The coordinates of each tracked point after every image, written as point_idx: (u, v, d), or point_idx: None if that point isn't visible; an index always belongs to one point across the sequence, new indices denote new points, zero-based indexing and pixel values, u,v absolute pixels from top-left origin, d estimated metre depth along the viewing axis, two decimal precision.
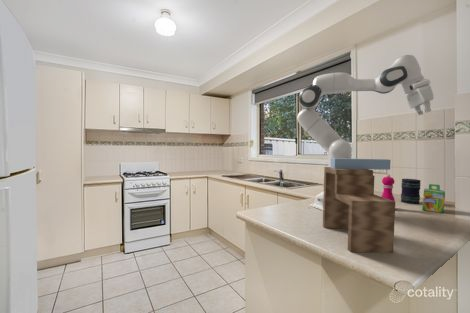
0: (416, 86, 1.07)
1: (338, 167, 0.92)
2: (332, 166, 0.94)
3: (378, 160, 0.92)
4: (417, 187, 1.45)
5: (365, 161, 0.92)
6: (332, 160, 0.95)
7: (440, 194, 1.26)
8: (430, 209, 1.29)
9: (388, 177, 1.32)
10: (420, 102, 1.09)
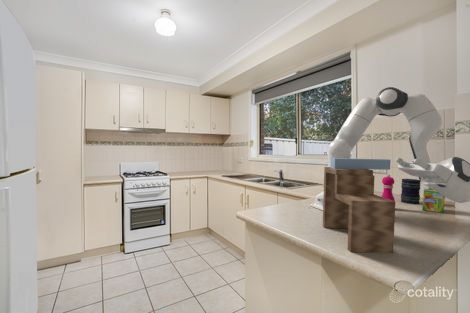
0: (454, 173, 0.85)
1: (338, 167, 0.92)
2: (332, 166, 0.94)
3: (378, 160, 0.92)
4: (417, 187, 1.45)
5: (365, 161, 0.92)
6: (332, 160, 0.95)
7: (440, 194, 1.26)
8: (430, 209, 1.29)
9: (388, 177, 1.32)
10: None
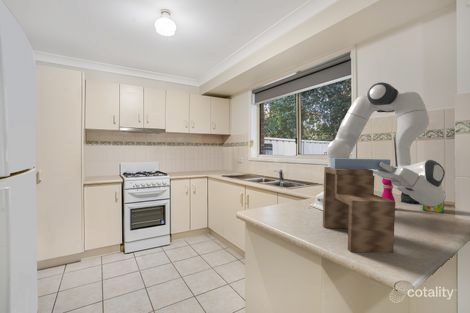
0: (421, 177, 0.86)
1: (338, 167, 0.92)
2: (332, 166, 0.94)
3: (378, 160, 0.92)
4: None
5: (365, 161, 0.92)
6: (332, 160, 0.95)
7: None
8: (430, 209, 1.29)
9: None
10: (397, 167, 0.89)
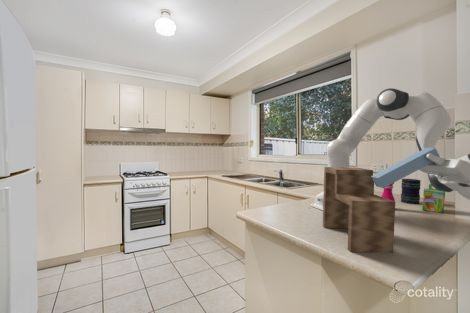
0: None
1: (386, 184, 0.80)
2: (378, 185, 0.82)
3: (423, 155, 0.79)
4: (417, 187, 1.45)
5: (411, 163, 0.80)
6: (374, 179, 0.82)
7: (440, 194, 1.26)
8: (430, 209, 1.29)
9: None
10: None
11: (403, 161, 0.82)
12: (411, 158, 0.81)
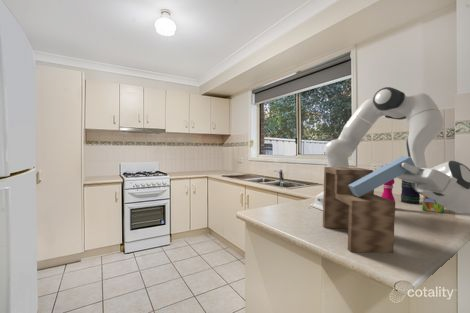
0: (453, 179, 0.73)
1: (362, 193, 0.80)
2: (354, 194, 0.82)
3: (398, 164, 0.80)
4: None
5: (386, 172, 0.80)
6: (351, 188, 0.82)
7: None
8: (430, 209, 1.29)
9: None
10: None
11: (379, 170, 0.82)
12: (387, 167, 0.81)
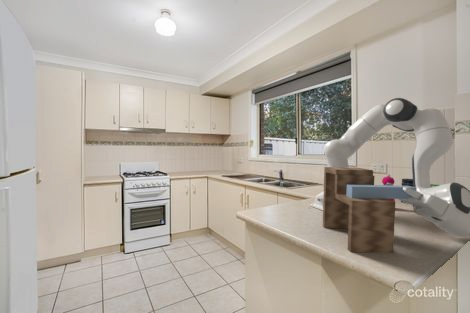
0: (451, 205, 0.73)
1: (356, 196, 0.80)
2: (348, 194, 0.82)
3: (402, 188, 0.80)
4: None
5: (387, 189, 0.80)
6: (348, 187, 0.82)
7: None
8: None
9: (388, 177, 1.32)
10: (422, 192, 0.77)
11: (382, 185, 0.82)
12: (390, 186, 0.81)
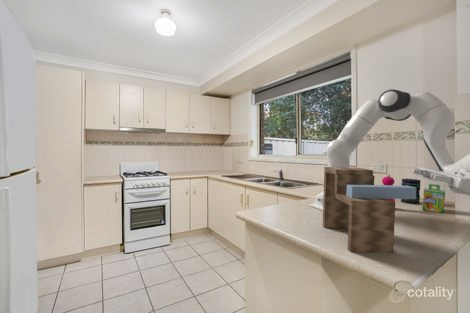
0: None
1: (356, 196, 0.80)
2: (348, 194, 0.82)
3: (402, 188, 0.80)
4: (417, 187, 1.45)
5: (387, 189, 0.80)
6: (348, 187, 0.82)
7: (440, 194, 1.26)
8: (430, 209, 1.29)
9: (388, 177, 1.32)
10: (452, 175, 0.77)
11: (382, 185, 0.82)
12: (390, 186, 0.81)
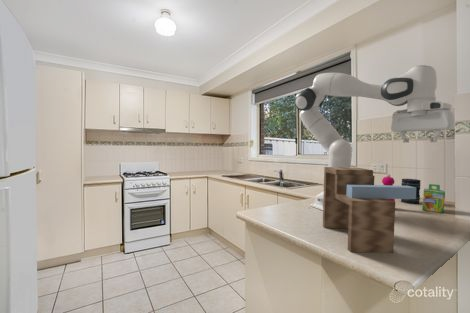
0: (445, 106, 0.84)
1: (356, 196, 0.80)
2: (348, 194, 0.82)
3: (402, 188, 0.80)
4: (417, 187, 1.45)
5: (387, 189, 0.80)
6: (348, 187, 0.82)
7: (440, 194, 1.26)
8: (430, 209, 1.29)
9: (388, 177, 1.32)
10: (433, 127, 0.87)
11: (382, 185, 0.82)
12: (390, 186, 0.81)
